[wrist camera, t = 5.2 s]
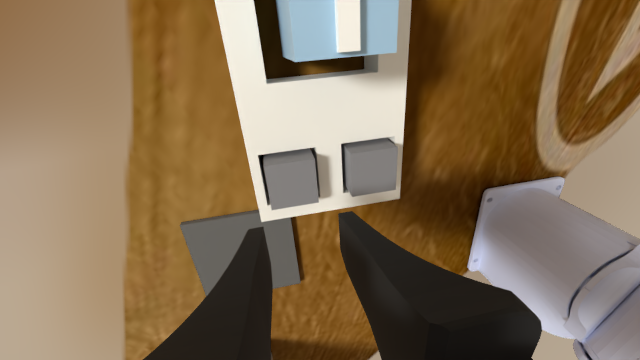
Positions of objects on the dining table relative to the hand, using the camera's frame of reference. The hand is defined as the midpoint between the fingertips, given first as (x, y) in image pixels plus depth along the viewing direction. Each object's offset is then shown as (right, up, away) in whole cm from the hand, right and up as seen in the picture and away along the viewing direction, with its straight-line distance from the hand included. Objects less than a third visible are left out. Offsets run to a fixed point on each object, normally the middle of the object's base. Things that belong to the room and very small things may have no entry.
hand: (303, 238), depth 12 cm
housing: (0, +9, +6) cm, 11 cm away
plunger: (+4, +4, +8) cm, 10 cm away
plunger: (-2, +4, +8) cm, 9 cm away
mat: (-5, -4, +11) cm, 12 cm away
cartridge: (0, +12, +4) cm, 13 cm away
